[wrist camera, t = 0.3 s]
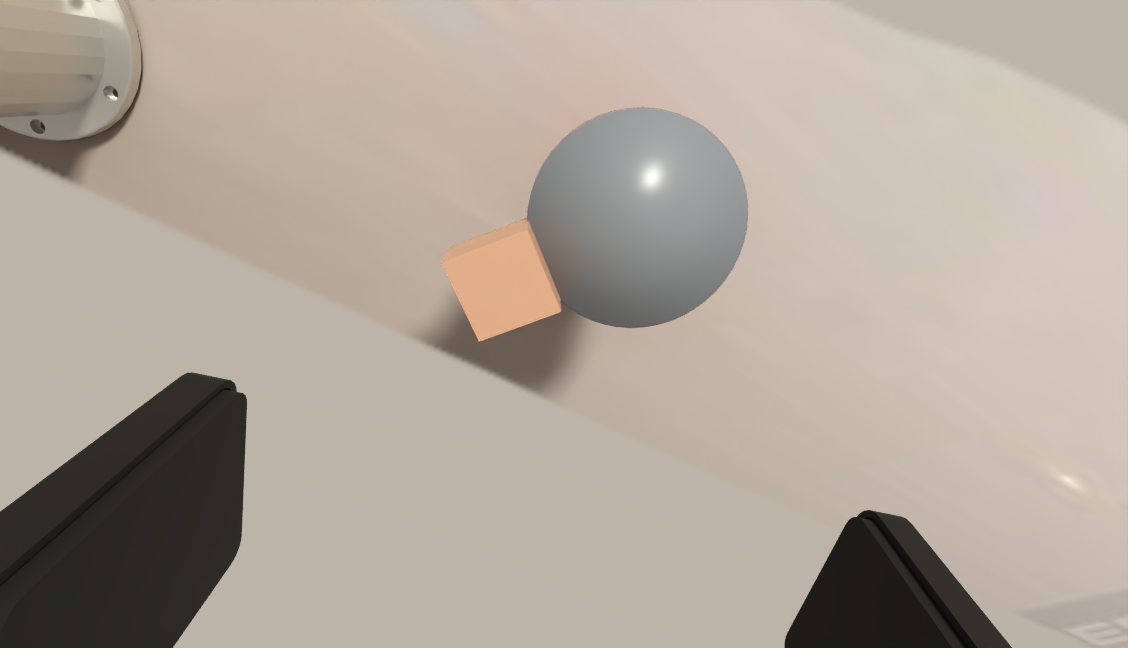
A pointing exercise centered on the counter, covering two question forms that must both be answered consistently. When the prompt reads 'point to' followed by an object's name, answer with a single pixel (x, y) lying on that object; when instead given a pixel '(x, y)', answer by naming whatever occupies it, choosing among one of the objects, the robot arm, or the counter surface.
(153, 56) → the counter surface
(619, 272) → the gray paddle
